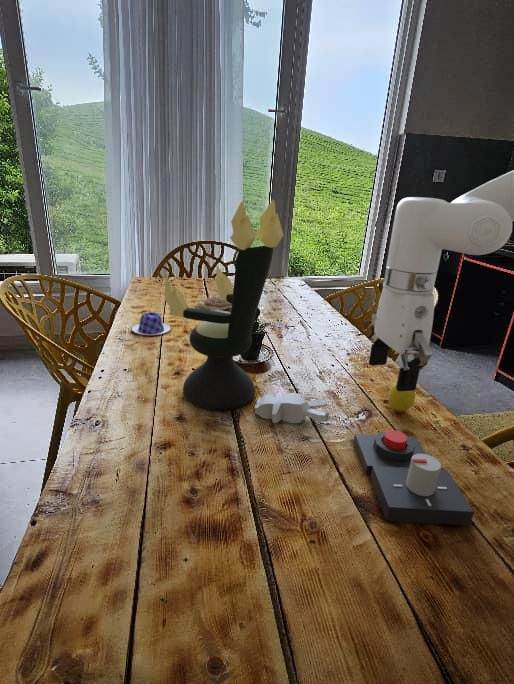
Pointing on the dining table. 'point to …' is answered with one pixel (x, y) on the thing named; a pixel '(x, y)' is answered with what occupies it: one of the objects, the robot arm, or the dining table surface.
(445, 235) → the robot arm
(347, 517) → the dining table surface
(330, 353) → the dining table surface
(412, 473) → the dial
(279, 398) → the bunny figurine
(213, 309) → the decorative turtle
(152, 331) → the pudding
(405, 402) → the lemon
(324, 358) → the dining table surface
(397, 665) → the dining table surface
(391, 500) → the knob control plate
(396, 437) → the power button
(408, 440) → the switch block
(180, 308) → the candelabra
